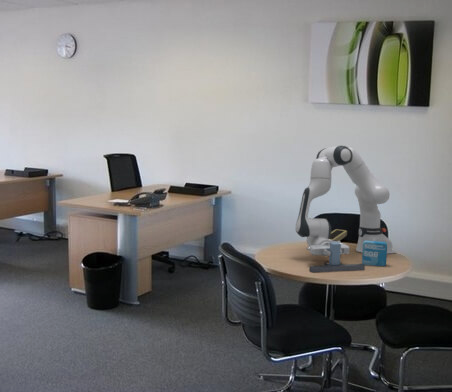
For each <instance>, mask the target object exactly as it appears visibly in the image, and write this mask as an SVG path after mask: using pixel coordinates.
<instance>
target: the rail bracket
mask: <svg viewBox="0 0 452 392" xmlns="http://www.w3.org/2000/svg"><path fill="white" fill-rule="evenodd" d="M365 268H366V265H364V264H363V263H345V264H344V263H342V262H341V261H340V265H330V264H329V262H323V265H309V266H308V269H309V270H308V271H309V272H310V273H329V272H331V273H332V272H334V273H335V272H351V271H353V272H354V271H365Z"/></svg>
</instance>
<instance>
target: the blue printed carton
mask: <svg viewBox="0 0 452 392" xmlns="http://www.w3.org/2000/svg"><path fill="white" fill-rule="evenodd" d="M361 254H362V256H361V264H364V265H365V266H371V267H372V266H374V267H375V266H376V267H385V266H387V257H388V254H387V243H386V242H381V241H367V240H366V241H364V242H363V251H362V253H361Z"/></svg>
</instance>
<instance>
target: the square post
mask: <svg viewBox="0 0 452 392" xmlns="http://www.w3.org/2000/svg"><path fill="white" fill-rule="evenodd" d="M330 251H331V252H332V255H328V264H330V265H340V262H341V255H340V251H341V244H340V243H338V242H330Z"/></svg>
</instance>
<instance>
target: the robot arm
mask: <svg viewBox="0 0 452 392" xmlns="http://www.w3.org/2000/svg"><path fill="white" fill-rule="evenodd" d="M340 166H342V167H343V168H344V170H345V172H346V174H347V176H348V177H349V179H350V180H351V181H352V184H355V185H356V186H355V188H354V195H355V196H356V198H357V202H358V206H359V213H360V215H359V226H358V240H357V245H356V248H355V251H356V252H359V253H361V254H362V251H363V242H364V241H366V240H367V241H381V242H386V243H387V255H388V254H396V253H397V250H396V249H395V248H393V243H392V241H391V239H390V238H388V237H387V236H386V235H385V234H383V233H386V231H387V229H386V228H384V227H381V216H382V215H381V214H382V213H381V211H380V210H379V208H378V207H379V206H378V205H381V204H385V203H387V202H388V201H389V199H390V190H389V188H387V187H386V186H384V184H383V183H381V181H380V180H379V179H378V178H377V177H376V176H375V175H374V174H373V173H372V172H371V171H370V169H369V167H368V165H367V164H366V162H365V161H364V160H363V158H362V156H361V155H360V154H359V153H358V152H357V150H355V148H354V147H351V146H349V147H348V146H345V145H334V146H329V147H325V148H323V149H320V150H319V151H318V152H317V154H316V158H315V159H314V160H313V162H312V165H311V170H310V180H309V184H308V186H307V187H306V188H305V189H304V190H303V193H302V198H301V201H300V206H299V212H298V215H297V216H298V217H297V220H296V223H295V232H296V233H297V235H299V236H300V237H301V238H306V245H307V246H308V247H306V250H307V251H309V253H310V254H311V255H312V256H322V257H327V256H328V257H329V255H332V252H331V251H330V242H338V243H340V244H341V251H340V256H342V255H349V254H350V246H349V245H347V244H345V243H344V242H341V240H340V241H337V240H330V239H329V237H330V235H331V232H332V225H331V224H330V221H329V220H328V219H327V218H319V217H318V218H309V217H308V216H309V213H310V206H311V203H312V201H314V200H315V199H317V198H319V197H322V196H324V195H326V194H328V192H329V191H330V190H331V188H332V187H331V186H332V171H333V168H336V167H340Z"/></svg>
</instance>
